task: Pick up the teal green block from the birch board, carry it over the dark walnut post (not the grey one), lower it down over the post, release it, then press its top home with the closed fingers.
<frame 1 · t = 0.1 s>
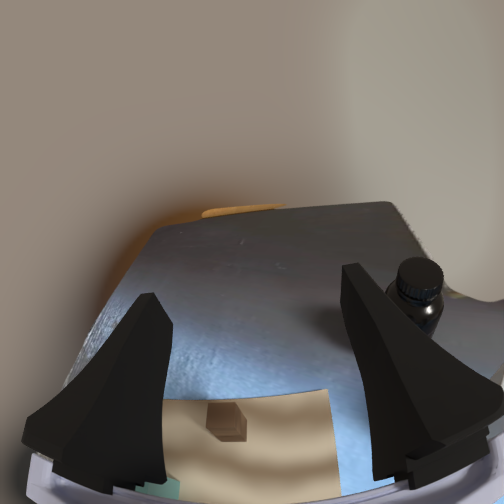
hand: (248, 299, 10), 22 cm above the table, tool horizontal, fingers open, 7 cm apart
skincare box: (464, 441, 16), on the table
teal green block: (155, 498, 18), point 1 cm above the table, touching board
walnut post: (234, 431, 24), resting on board
board: (216, 465, 22), on the table
supplement bottle: (400, 346, 29), on the table
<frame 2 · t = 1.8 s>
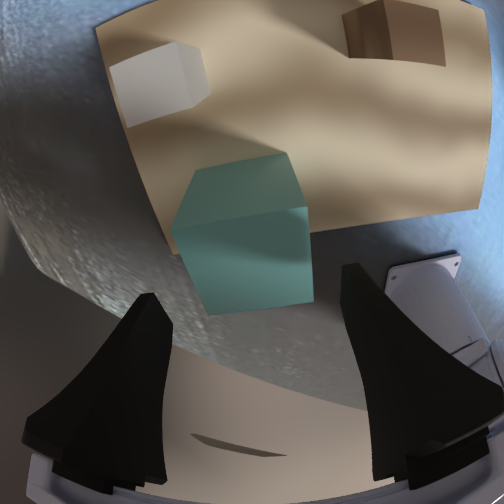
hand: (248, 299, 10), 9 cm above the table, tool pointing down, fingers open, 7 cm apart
grey post: (181, 77, 12), resting on board
teal green block: (249, 200, 16), point 1 cm above the table, touching board
walnut post: (368, 37, 10), resting on board
board: (338, 103, 13), on the table
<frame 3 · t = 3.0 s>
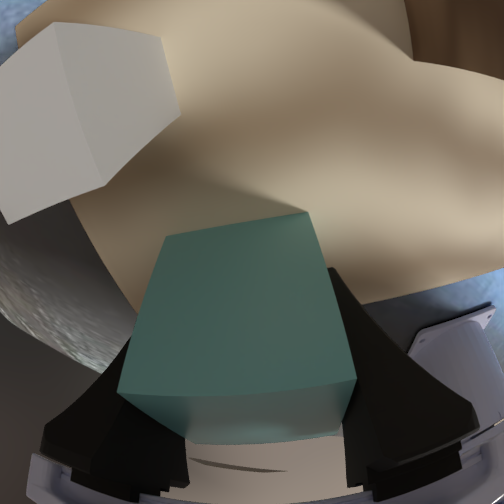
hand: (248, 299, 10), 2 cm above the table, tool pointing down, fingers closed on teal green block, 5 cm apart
grey post: (130, 89, 7), resting on board
teal green block: (248, 276, 11), point 1 cm above the table, touching board, gripper
walnut post: (439, 31, 5), resting on board
board: (389, 131, 8), on the table
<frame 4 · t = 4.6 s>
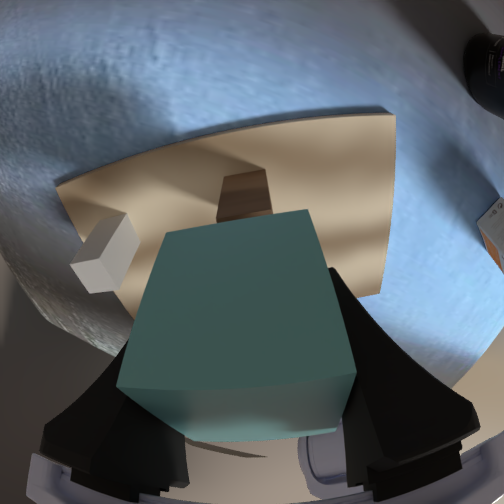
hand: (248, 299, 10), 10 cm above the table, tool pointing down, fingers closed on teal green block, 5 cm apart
skincare box: (492, 224, 20), on the table
grey post: (119, 231, 19), resting on board
teal green block: (248, 273, 11), point 8 cm above the table, touching gripper
walnut post: (248, 191, 17), resting on board
board: (232, 238, 21), on the table
supplement bottle: (487, 72, 11), on the table
when the fingers open (3 cm above the table, at t = 6.2 s): teal green block stays where it is, resting on board.
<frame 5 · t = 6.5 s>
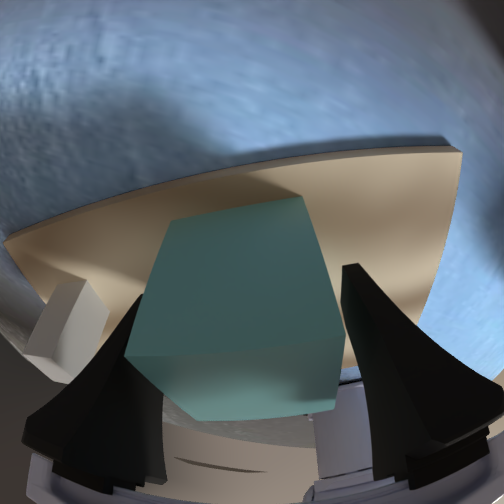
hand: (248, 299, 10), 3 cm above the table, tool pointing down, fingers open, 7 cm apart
grey post: (83, 298, 14), resting on board
teal green block: (248, 259, 12), point 1 cm above the table, touching board
board: (227, 310, 15), on the table
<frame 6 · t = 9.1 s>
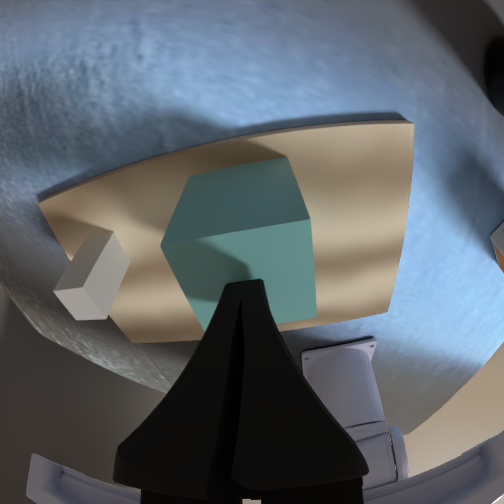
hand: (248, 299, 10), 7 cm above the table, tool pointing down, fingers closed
grey post: (107, 250, 17), resting on board
teal green block: (247, 207, 15), point 1 cm above the table, touching board
board: (230, 258, 19), on the table
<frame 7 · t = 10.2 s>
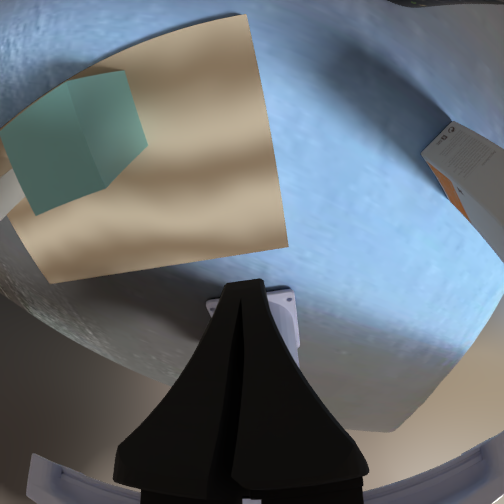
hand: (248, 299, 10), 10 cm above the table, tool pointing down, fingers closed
skincare box: (450, 162, 17), on the table
grey post: (18, 181, 16), resting on board
teal green block: (101, 122, 14), point 1 cm above the table, touching board
board: (103, 179, 17), on the table
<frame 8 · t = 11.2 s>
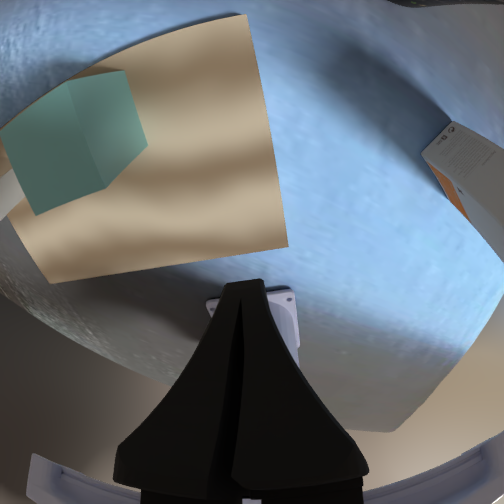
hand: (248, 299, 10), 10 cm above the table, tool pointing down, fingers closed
skincare box: (450, 162, 17), on the table
grey post: (18, 181, 16), resting on board
teal green block: (101, 122, 14), point 1 cm above the table, touching board
board: (103, 179, 17), on the table
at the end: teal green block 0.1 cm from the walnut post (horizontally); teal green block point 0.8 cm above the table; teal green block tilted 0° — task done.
